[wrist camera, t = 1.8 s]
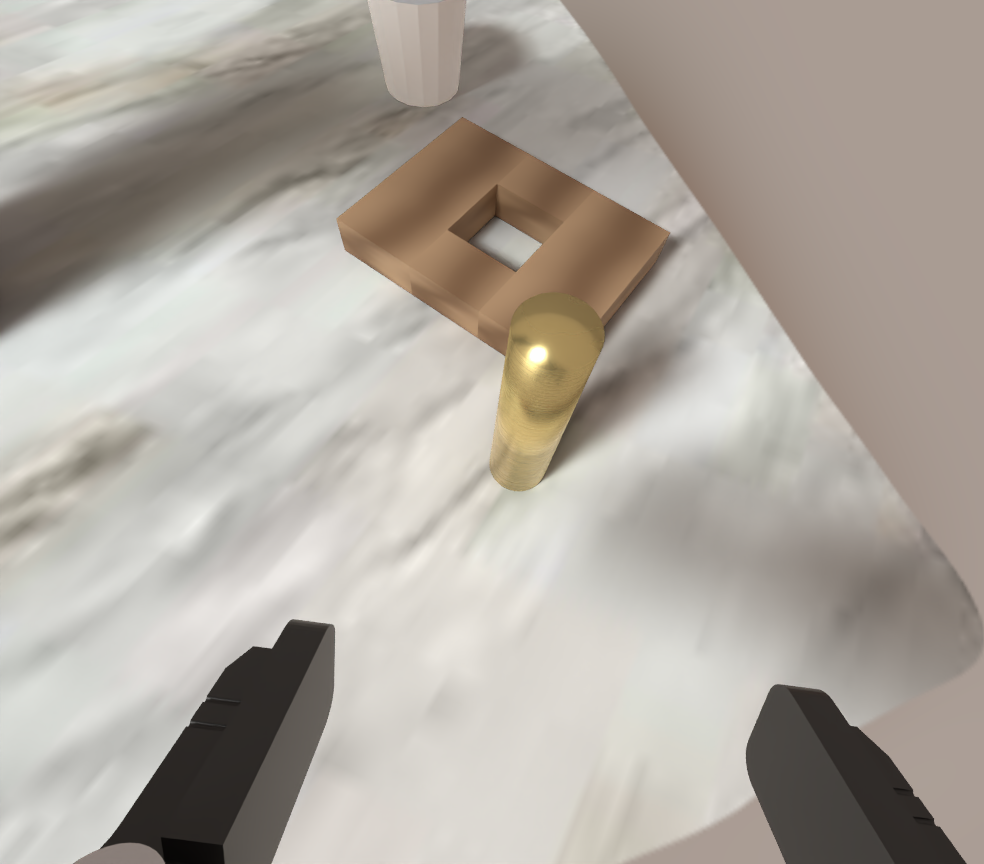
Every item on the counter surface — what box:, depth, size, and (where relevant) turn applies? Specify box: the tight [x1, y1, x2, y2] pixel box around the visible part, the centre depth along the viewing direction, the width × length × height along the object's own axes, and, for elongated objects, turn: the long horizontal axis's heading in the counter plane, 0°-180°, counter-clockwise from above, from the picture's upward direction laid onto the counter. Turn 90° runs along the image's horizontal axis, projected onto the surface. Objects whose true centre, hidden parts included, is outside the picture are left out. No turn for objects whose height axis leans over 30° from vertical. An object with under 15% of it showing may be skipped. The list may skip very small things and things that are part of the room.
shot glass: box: [368, 0, 466, 107], centre depth 36 cm, size 7×7×7 cm
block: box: [337, 117, 670, 356], centre depth 32 cm, size 16×12×2 cm
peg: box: [490, 292, 605, 491], centre depth 22 cm, size 3×3×12 cm
